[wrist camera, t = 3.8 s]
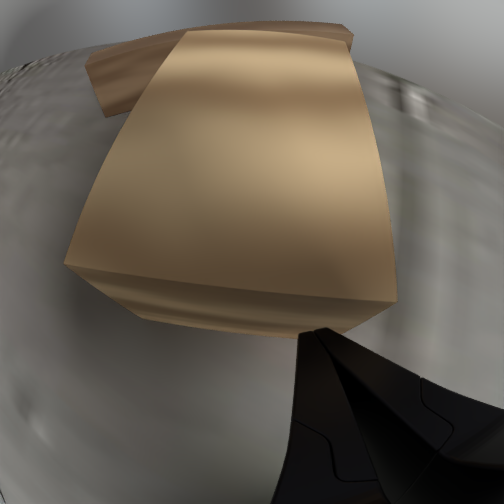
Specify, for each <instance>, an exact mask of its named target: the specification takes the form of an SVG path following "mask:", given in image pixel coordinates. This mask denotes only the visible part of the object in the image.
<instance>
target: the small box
mask: <svg viewBox="0 0 504 504" xmlns="http://www.w3.org/2000/svg"><path fill="white" fill-rule="evenodd" d="M0 504H5V502H4V500H3V498H2V495H1V493H0Z"/></svg>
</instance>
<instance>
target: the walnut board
mask: <svg viewBox="0 0 504 504" xmlns="http://www.w3.org/2000/svg"><path fill="white" fill-rule="evenodd" d="M201 30H256V31H272V32H284V33H294V34H302V35H309V36H316V37H323V38H328V39H334V40H339V41H344V42H345V43H346V45H347V48H348V51H349V53H350V49H351V45H352V41H353V36H354V34H353V33H351V32H350V31H349V30H348V29H347V28H346V27H344V26H343V25H342V24H333V23H322V22H304V21H254V22H237V23H227V24H217V25H208V26H201V27H194V28H187V29H182V30H176V31H171V32H166V33H162V34H157V35H152V36H148V37H144V38H140V39H136V40H132V41H129V42H125V43H122V44H118V45H115V46H112V47H109V48H106V49H103V50H100V51H97V52H94V53H91V55H90V57H89V59H88V60H87V62H86V64H85V68H86V71H87V74H88V76H89V79H90V81H91V84H92V86H93V89H94V91H95V93H96V96H97V98H98V101H99V103H100V105H101V108H102V110H103V112H104V115H105V117H109V116H113V115H116V114H120V113H124V112H127V111H131V110H132V109H133V108H134V106H135V104H136V103H137V101H138V100H139V98H140V96H141V95H142V93H143V92H144V90H145V89H146V87H147V86H148V84H149V83H150V81H151V80H152V78H153V77H154V75H155V74H156V72H157V71H158V69H159V68H160V66H161V65H162V64H163V62H164V61H165V59H166V58H167V57H168V55H169V54H170V53H171V51H172V50H173V49H174V47H175V46H176V45H177V43H178V42H179V41H180V40H181V38H182V37H183V36H184V35H185V33H186V32H187V31H201Z"/></svg>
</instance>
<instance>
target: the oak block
mask: <svg viewBox="0 0 504 504" xmlns="http://www.w3.org/2000/svg"><path fill="white" fill-rule="evenodd" d="M63 264H64V265H65V266H67V267H68V268H69V269H71V270H72V271H73V272H75V273H76V274H77V275H79V276H80V277H81V278H83V279H84V280H86V281H87V282H88V283H90V284H91V285H92V286H94V287H95V288H97V289H98V290H100V291H101V292H102V293H104V294H105V295H107V296H108V297H110V298H111V299H113V300H114V301H116V302H117V303H119V304H120V305H122V306H123V307H125V308H126V309H128V310H129V311H131V312H132V313H134V314H136V315H137V316H139V317H140V318H142V319H147V320H152V321H158V322H164V323H170V324H176V325H182V326H189V327H195V328H202V329H209V330H217V331H225V332H233V333H241V334H250V335H260V336H270V337H281V338H293V339H298V334H299V333H302V332H306V331H314V330H315V329H319V328H323V327H328V328H330V329H332V330H333V331H335V332H337V333H339V334H343V333H345V332H347V331H348V330H350V329H352V328H354V327H356V326H358V325H359V324H361V323H363V322H365V321H366V320H368V319H370V318H372V317H373V316H375V315H377V314H378V313H380V312H382V311H384V310H385V309H387V308H389V307H390V306H392V305H393V304H395V303H397V302H398V301H397V282H396V268H395V257H394V247H393V238H392V229H391V222H390V215H389V208H388V201H387V195H386V189H385V184H384V178H383V173H382V168H381V163H380V158H379V154H378V149H377V145H376V141H375V136H374V132H373V128H372V124H371V121H370V117H369V113H368V109H367V106H366V102H365V99H364V96H363V92H362V89H361V86H360V83H359V79H358V76H357V73H356V70H355V67H354V65H353V62H352V59H351V56H350V53H349V51H348V48H347V45H346V43H345V42H344V41H339V40H334V39H328V38H323V37H316V36H309V35H302V34H294V33H284V32H272V31H256V30H201V31H187V32H186V33H185V35H184V36H183V37H182V38H181V40H180V41H179V42H178V43H177V45H176V46H175V47H174V49H173V50H172V51H171V53H170V54H169V55H168V57H167V58H166V59H165V61H164V62H163V64H162V65H161V66H160V68H159V69H158V71H157V72H156V74H155V75H154V77H153V78H152V80H151V81H150V83H149V84H148V86H147V87H146V89H145V90H144V92H143V93H142V95H141V96H140V98H139V100H138V101H137V103H136V104H135V106H134V108H133V109H132V111H131V113H130V115H129V116H128V118H127V120H126V121H125V123H124V125H123V127H122V128H121V130H120V132H119V134H118V136H117V138H116V139H115V141H114V143H113V145H112V147H111V149H110V151H109V153H108V155H107V157H106V159H105V161H104V163H103V165H102V167H101V169H100V171H99V173H98V176H97V178H96V180H95V182H94V184H93V187H92V189H91V191H90V193H89V196H88V198H87V200H86V203H85V205H84V208H83V210H82V213H81V215H80V218H79V220H78V223H77V226H76V228H75V231H74V234H73V236H72V239H71V242H70V245H69V248H68V251H67V254H66V257H65V260H64V263H63Z"/></svg>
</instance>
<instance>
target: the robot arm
mask: <svg viewBox="0 0 504 504" xmlns="http://www.w3.org/2000/svg"><path fill="white" fill-rule="evenodd" d="M270 504H504V409H501V408H498V407H495V406H492V405H489V404H486V403H483V402H480V401H477V400H474V399H471V398H469V397H466V396H463V395H461V394H458V393H455V392H453V391H450V390H448V389H446V388H444V387H441V386H439V385H437V384H435V383H433V382H431V381H429V380H427V379H425V378H423V377H422V378H421V379H420V376H419V375H417V374H415V373H413V372H411V371H409V370H407V369H405V368H403V367H401V366H399V365H397V364H395V363H394V362H392V361H390V360H388V359H386V358H384V357H382V356H380V355H378V354H376V353H374V352H373V351H371V350H369V349H367V348H365V347H363V346H361V345H359V344H358V343H356V342H354V341H352V340H350V339H348V338H346V337H345V336H343V335H341V334H339V333H337V332H335V331H333V330H332V329H330V328H328V327H323V328H319V329H315V330H314V331H306V332H302V333H299V334H298V342H297V357H296V371H295V383H294V395H293V406H292V416H291V424H290V434H289V440H288V446H287V452H286V456H285V460H284V463H283V467H282V471H281V474H280V477H279V480H278V483H277V486H276V489H275V492H274V494H273V497H272V500H271V503H270Z"/></svg>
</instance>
